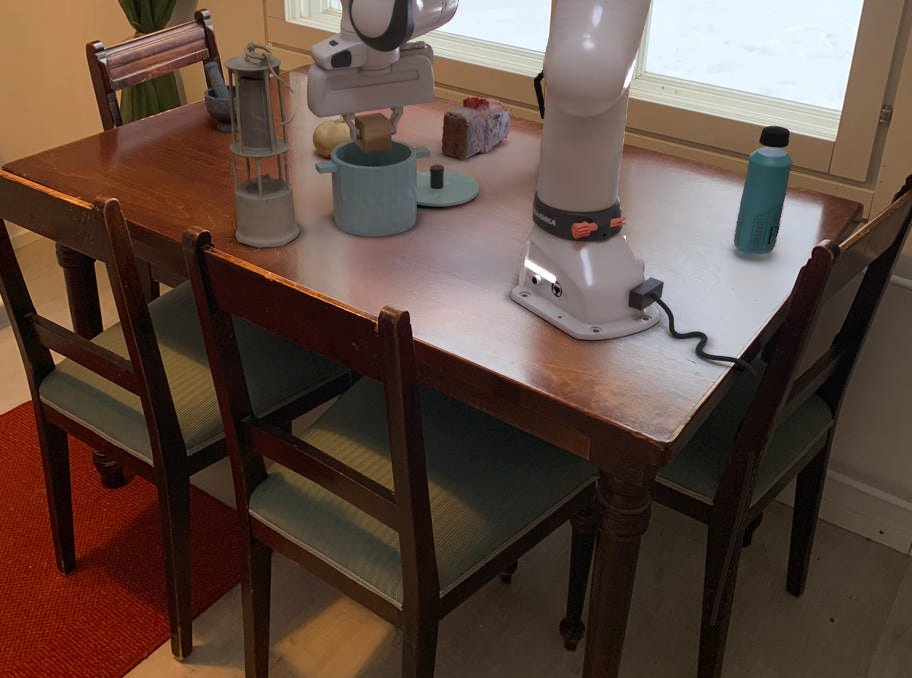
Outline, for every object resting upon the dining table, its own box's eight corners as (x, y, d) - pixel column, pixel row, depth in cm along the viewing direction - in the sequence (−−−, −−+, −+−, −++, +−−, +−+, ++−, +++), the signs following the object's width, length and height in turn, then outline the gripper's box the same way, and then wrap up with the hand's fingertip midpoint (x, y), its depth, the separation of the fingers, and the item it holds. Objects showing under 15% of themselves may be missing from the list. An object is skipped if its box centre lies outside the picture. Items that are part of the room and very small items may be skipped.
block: (391, 148, 159) (391, 120, 157) (365, 153, 158) (364, 124, 155) (381, 139, 163) (380, 112, 160) (355, 143, 161) (354, 116, 158)
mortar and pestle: (265, 126, 204) (259, 66, 197) (227, 137, 199) (220, 76, 192) (232, 113, 211) (225, 55, 204) (194, 124, 205) (186, 64, 198)
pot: (444, 225, 165) (445, 158, 159) (335, 245, 159) (331, 176, 152) (411, 195, 176) (411, 131, 169) (308, 213, 169) (303, 147, 162)
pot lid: (493, 201, 174) (494, 175, 171) (416, 215, 169) (416, 189, 166) (455, 172, 185) (456, 147, 182) (382, 184, 179) (381, 159, 177)
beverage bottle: (766, 267, 153) (793, 139, 142) (724, 257, 156) (747, 131, 145) (778, 251, 158) (806, 126, 147) (737, 241, 161) (761, 118, 149)
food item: (479, 134, 201) (480, 85, 195) (512, 143, 197) (514, 93, 191) (437, 153, 192) (437, 102, 187) (470, 163, 188) (472, 111, 183)
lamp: (273, 215, 168) (257, 29, 151) (323, 239, 161) (311, 47, 144) (222, 233, 162) (198, 42, 145) (271, 259, 155) (252, 61, 138)
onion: (339, 165, 187) (337, 127, 183) (305, 156, 191) (302, 119, 187) (363, 152, 193) (362, 115, 189) (330, 144, 196) (328, 108, 192)
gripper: (425, 34, 157) (425, 121, 165) (300, 48, 150) (306, 139, 158) (441, 44, 152) (441, 133, 160) (313, 59, 145) (319, 152, 153)
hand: (373, 136), depth 159 cm, fingers closed on block, 4 cm apart
